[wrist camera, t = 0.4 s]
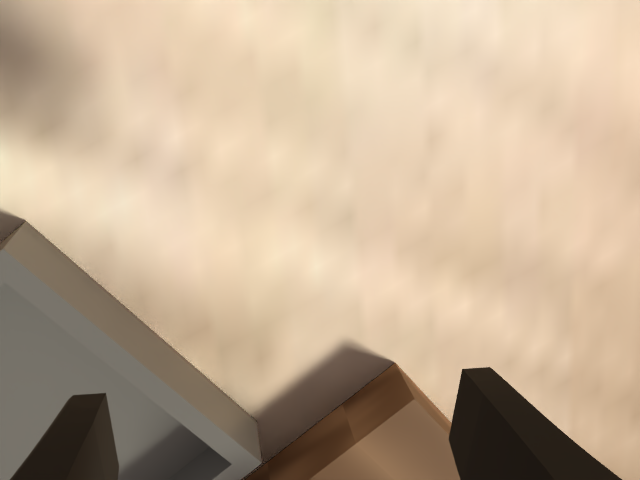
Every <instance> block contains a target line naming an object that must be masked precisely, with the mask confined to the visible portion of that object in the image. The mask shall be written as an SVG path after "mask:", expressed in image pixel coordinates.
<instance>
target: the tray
mask: <svg viewBox="0 0 640 480" xmlns="http://www.w3.org/2000/svg"><path fill="white" fill-rule="evenodd" d="M97 393H106V396H107V402H108V407H109V413H110V418H111V424H112V429H113V435H114V440H115V446H116V452H117V457H118V463H119V473H118V480H241V479H242V478H244V477H245V476H246V475H247V474H249V473H250V472H251V471H253V470H254V469H255V468H256V467H258V466H259V465H260V464H262V460H261V452H260V444H259V436H258V428H257V421H256V420H255V419H254V418H253V417H251V416H250V415H249V414H248V413H247V412H246V411H245V410H243V409H242V408H241V407H240V406H239V405H238V404H236V403H235V402H234V401H233V400H232V399H231V398H230V397H228V396H227V395H226V394H225V393H224V392H223V391H221V390H220V389H219V388H218V387H217V386H216V385H215V384H213V383H212V382H211V381H210V380H209V379H208V378H206V377H205V376H204V375H203V374H202V373H201V372H200V371H198V370H197V369H196V368H195V367H194V366H193V365H191V364H190V363H189V362H188V361H187V360H186V359H185V358H183V357H182V356H181V355H180V354H179V353H178V352H176V351H175V350H174V349H173V348H172V347H171V346H170V345H168V344H167V343H166V342H165V341H164V340H163V339H161V338H160V337H159V336H158V335H157V334H156V333H155V332H153V331H152V330H151V329H150V328H149V327H148V326H146V325H145V324H144V323H143V322H142V321H141V320H140V319H138V318H137V317H136V316H135V315H134V314H133V313H131V312H130V311H129V310H128V309H127V308H126V307H125V306H123V305H122V304H121V303H120V302H119V301H118V300H116V299H115V298H114V297H113V296H112V295H111V294H110V293H108V292H107V291H106V290H105V289H104V288H103V287H101V286H100V285H99V284H98V283H97V282H96V281H95V280H93V279H92V278H91V277H90V276H89V275H88V274H86V273H85V272H84V271H83V270H82V269H81V268H80V267H78V266H77V265H76V264H75V263H74V262H73V261H71V260H70V259H69V258H68V257H67V256H66V255H65V254H63V253H62V252H61V251H60V250H59V249H58V248H56V247H55V246H54V245H53V244H52V243H51V242H50V241H48V240H47V239H46V238H45V237H44V236H43V235H41V234H40V233H39V232H38V231H37V230H36V229H35V228H33V227H32V226H31V225H30V224H29V223H28V222H26V221H25V222H24V223H23V224H22V225H21V226H20V227H18V228H17V229H16V230H15V231H14V232H13V233H12V234H10V235H9V236H8V237H7V238H6V239H5V240H4V241H2V242H1V243H0V480H10V479H11V478H12V476H13V475H14V474H15V472H16V471H17V470H18V468H19V467H20V466H21V465H22V463H23V462H24V461H25V459H26V458H27V457H28V456H29V454H30V453H31V451H32V450H33V449H34V447H35V446H36V445H37V443H38V442H39V441H40V439H41V438H42V436H43V435H44V434H45V432H46V431H47V429H48V428H49V427H50V425H51V424H52V422H53V421H54V419H55V418H56V417H57V415H58V414H59V412H60V411H61V409H62V408H63V406H64V405H65V403H66V402H67V400H68V399H69V398H71V397H72V396H73V395H82V394H97Z"/></svg>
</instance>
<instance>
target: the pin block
mask: <svg viewBox="0 0 640 480" xmlns="http://www.w3.org/2000/svg"><path fill="white" fill-rule="evenodd" d="M451 424H452V423H451V422H450V421H449V420H448V419H447V418H446V417H445V416H444V415H443V414H442V413H441V411H440V410H439V409H438V408H437V407H436V406H435V405H434V404H433V403H432V402H431V401H430V400H429V399H428V397H427V396H426V395H425V394H424V393H423V392H422V391H421V390H420V389H419V388H418V387H417V386H416V385H415V383H414V382H413V381H412V380H411V379H410V378H409V377H408V376H407V375H406V374H405V373H404V372H403V371H402V369H401V368H400V367H399V366H398V365H397V364H396V363H395V364H393V365H392V366H391V367H389V368H388V369H387V370H386V371H384V372H383V373H382V374H380V375H379V376H378V377H376V378H375V379H374V380H373V381H371V382H370V383H369V384H367V385H366V386H365V387H364V388H362V389H361V390H360V391H358V392H357V393H356V394H355V395H353V396H352V397H351V398H349V399H348V400H347V401H346V402H344V403H343V404H342V405H340V406H339V407H338V408H337V409H335V410H334V411H333V412H331V413H330V414H329V415H328V416H326V417H325V418H324V419H322V420H321V421H320V422H318V423H317V424H316V425H315V426H313V427H312V428H311V429H309V430H308V431H307V432H306V433H304V434H303V435H302V436H300V437H299V438H298V439H297V440H295V441H294V442H293V443H291V444H290V445H289V446H288V447H286V448H285V449H284V450H282V451H281V452H280V453H279V454H277V455H276V456H275V457H273V458H272V459H271V460H270V461H268V462H267V463H266V464H264V465H263V466H262V467H260V468H259V469H258V470H257V471H255V472H254V473H253V474H251V475H250V476H249V477H248V478H246V479H245V480H460V477H459V473H458V470H457V467H456V464H455V460H454V457H453V453H452V450H451V446H450V443H449V434H450V429H451Z"/></svg>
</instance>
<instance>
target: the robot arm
mask: <svg viewBox="0 0 640 480" xmlns="http://www.w3.org/2000/svg"><path fill="white" fill-rule="evenodd" d="M449 443H450V446H451V450H452V453H453V457H454V460H455V464H456V467H457V470H458V473H459V477H460V480H622V479H621V478H619V477H618V476H617V475H615V474H614V473H613V472H611V471H610V470H609V469H608V468H606V467H605V466H604V465H602V464H601V463H600V462H599V461H597V460H596V459H595V458H593V457H592V456H591V455H590V454H589V453H587V452H586V451H585V450H584V449H582V448H581V447H580V446H579V445H578V444H576V443H575V442H574V441H573V440H572V439H570V438H569V437H568V436H567V435H566V434H564V433H563V432H562V431H561V430H560V429H559V428H558V427H556V426H555V425H554V424H553V423H552V422H551V421H549V420H548V419H547V418H546V417H545V416H544V415H543V414H542V413H540V412H539V411H538V410H537V409H536V408H535V407H534V406H533V405H532V404H530V403H529V402H528V401H527V400H526V399H525V398H524V397H523V396H522V395H520V394H519V393H518V392H517V391H516V390H515V389H514V388H513V387H512V386H511V385H509V384H508V383H507V382H506V381H505V380H504V379H503V378H502V377H501V376H499V375H498V374H497V373H496V372H495V371H494V370H493V369H491V368H490V367H487V368H472V369H462V374H461V379H460V384H459V389H458V394H457V399H456V404H455V409H454V414H453V419H452V424H451V429H450V434H449ZM118 473H119V463H118V457H117V452H116V446H115V440H114V435H113V429H112V424H111V418H110V413H109V407H108V402H107V396H106V393H97V394H82V395H73V396H72V397H71V398H69V399H68V400H67V402H66V403H65V405H64V406H63V408H62V409H61V411H60V412H59V414H58V415H57V417H56V418H55V419H54V421H53V422H52V424H51V425H50V427H49V428H48V429H47V431H46V432H45V434H44V435H43V436H42V438H41V439H40V441H39V442H38V443H37V445H36V446H35V447H34V449H33V450H32V451H31V453H30V454H29V456H28V457H27V458H26V459H25V461H24V462H23V463H22V465H21V466H20V467H19V468H18V470H17V471H16V472H15V474H14V475H13V476H12V478H11V479H10V480H118Z"/></svg>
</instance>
